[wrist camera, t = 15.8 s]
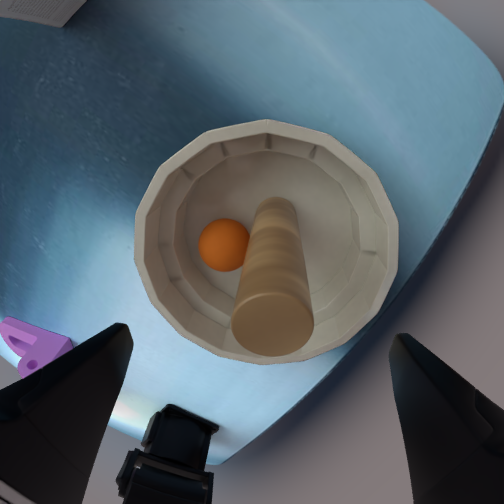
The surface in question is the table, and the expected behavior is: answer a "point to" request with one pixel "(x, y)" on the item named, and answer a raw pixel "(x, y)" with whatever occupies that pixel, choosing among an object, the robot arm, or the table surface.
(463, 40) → the table surface
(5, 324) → the bracket
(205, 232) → the ball
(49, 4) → the small box
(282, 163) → the bowl
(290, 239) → the stirring stick
